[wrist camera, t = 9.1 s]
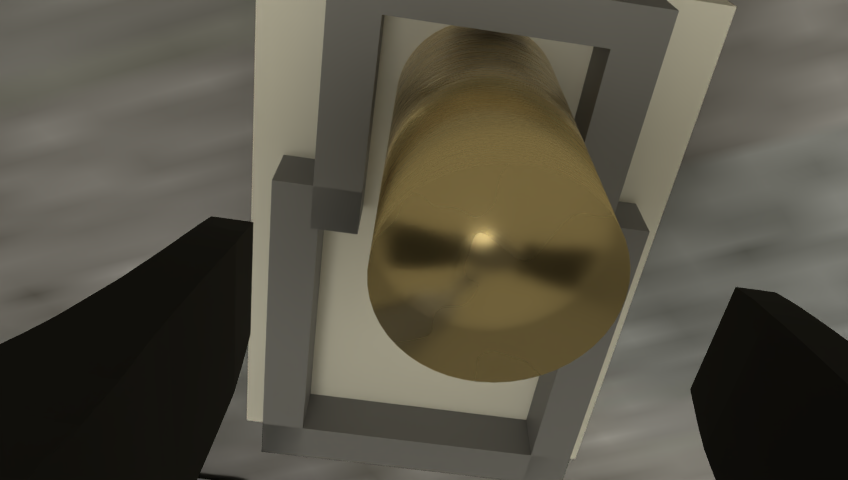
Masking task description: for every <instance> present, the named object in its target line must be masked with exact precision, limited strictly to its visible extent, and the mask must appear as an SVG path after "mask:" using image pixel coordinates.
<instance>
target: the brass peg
mask: <svg viewBox="0 0 848 480" xmlns="http://www.w3.org/2000/svg"><path fill="white" fill-rule="evenodd" d="M630 269H631V267H630V257H629V251H628V247H627V243H626V239H625V237H624V235H623V232H622V230H621V228H620V225H619V223H618V221H617V218H616V216H615V214H614V211H613V209H612V207H611V204H610V202H609V199H608V197H607V195H606V192H605V190H604V188H603V185H602V183H601V181H600V178H599V176H598V174H597V171H596V169H595V167H594V164H593V162H592V160H591V157H590V155H589V153H588V150H587V148H586V146H585V143H584V141H583V139H582V136H581V134H580V132H579V129H578V127H577V125H576V122H575V120H574V118H573V115H572V113H571V111H570V108H569V106H568V103H567V101H566V99H565V96H564V94H563V92H562V89H561V87H560V85H559V82H558V80H557V78H556V75H555V73H554V71H553V68H552V66H551V64H550V62H549V60H548V58H547V57H546V55H545V53H544V52H543V51H542V50H541V48H540V47H539V46H538V45H537V44H536V43H535V42H534V41H533V40H532V39H531V38H530V37H527V36H520V35H514V34H507V33H500V32H494V31H487V30H480V29H474V28H467V27H461V26H454V25H450V26H447V27H445V28H443V29H441V30H439V31H437V32H435V33H434V34H432V35H431V36H429V37H428V38H427V39H425V40H424V41H423V42H422V43H421V44H420V45H419V46H418V47H417V48H416V49H415V50H414V52H413V53H412V54H411V55H410V57H409V58H408V60H407V62H406V63H405V65H404V67H403V70H402V72H401V74H400V78H399V81H398V85H397V91H396V98H395V104H394V110H393V116H392V122H391V128H390V134H389V140H388V146H387V152H386V159H385V165H384V171H383V177H382V183H381V189H380V195H379V201H378V207H377V213H376V220H375V226H374V232H373V238H372V244H371V250H370V256H369V262H368V269H367V286H368V292H369V299H370V302H371V305H372V308H373V311H374V313H375V315H376V317H377V319H378V321H379V323H380V325H381V327H382V328H383V329H384V331H385V332H386V334H387V335H388V336H389V338H390V339H391V340H392V341H393V342H394V343H395V344H396V345H397V346H398V347H399V348H400V349H401V350H402V351H404V352H405V353H406V354H407V355H408V356H410V357H411V358H413V359H414V360H416V361H417V362H419V363H420V364H422V365H424V366H426V367H428V368H430V369H432V370H434V371H437V372H439V373H442V374H445V375H447V376H451V377H455V378H459V379H463V380H469V381H476V382H491V383H497V382H512V381H519V380H525V379H529V378H533V377H537V376H541V375H544V374H546V373H549V372H552V371H555V370H557V369H559V368H561V367H563V366H565V365H567V364H569V363H571V362H572V361H574V360H575V359H577V358H579V357H580V356H582V355H583V354H584V353H586V352H587V351H588V350H589V349H591V348H592V347H593V346H594V345H595V344H596V343H597V342H598V341H599V340H600V339H601V338H602V337H603V336H604V335H605V334H606V333H607V331H608V330H609V329H610V327H611V326H612V325H613V323H614V322H615V320H616V318H617V316H618V315H619V313H620V311H621V309H622V307H623V304H624V301H625V299H626V296H627V292H628V287H629V283H630Z"/></svg>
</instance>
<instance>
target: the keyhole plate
mask: <svg viewBox="0 0 848 480" xmlns="http://www.w3.org/2000/svg"><path fill="white" fill-rule="evenodd" d="M736 8H737V7H736V6H735V5H733V4H732V3H730V2H729V1H727V0H256V24H255V69H254V115H253V160H252V206H251V222H253V259H252V297H251V334H250V338H249V343H248V388H247V420H249V421H258V422H263V428H262V452H269V453H278V454H286V455H295V456H303V457H312V458H321V459H329V460H338V461H346V462H355V463H363V464H372V465H380V466H389V467H398V468H406V469H415V470H423V471H432V472H440V473H449V474H458V475H466V476H475V477H483V478H492V479H500V480H563V477H564V474H565V471H566V468H567V466H568V463H569V460H570V459H575V458H576V456H577V453H578V450H579V447H580V444H581V442H582V439H583V436H584V433H585V430H586V428H587V425H588V422H589V419H590V416H591V414H592V411H593V408H594V405H595V402H596V400H597V397H598V394H599V391H600V388H601V386H602V383H603V380H604V377H605V374H606V372H607V369H608V366H609V363H610V360H611V358H612V355H613V352H614V349H615V346H616V344H617V341H618V338H619V335H620V332H621V330H622V327H623V324H624V321H625V318H626V316H627V313H628V310H629V307H630V304H631V302H632V299H633V296H634V293H635V290H636V288H637V285H638V282H639V279H640V276H641V274H642V271H643V268H644V265H645V262H646V260H647V257H648V254H649V251H650V248H651V246H652V243H653V240H654V237H655V234H656V232H657V229H658V226H659V223H660V220H661V218H662V215H663V212H664V209H665V206H666V204H667V201H668V198H669V195H670V192H671V190H672V187H673V184H674V181H675V178H676V176H677V173H678V170H679V167H680V164H681V162H682V159H683V156H684V153H685V150H686V148H687V145H688V142H689V139H690V136H691V134H692V131H693V128H694V125H695V122H696V120H697V117H698V114H699V111H700V108H701V106H702V103H703V100H704V97H705V94H706V92H707V89H708V86H709V83H710V80H711V78H712V75H713V72H714V69H715V66H716V64H717V61H718V58H719V55H720V52H721V50H722V47H723V44H724V41H725V38H726V36H727V33H728V30H729V27H730V24H731V22H732V19H733V16H734V13H735V10H736ZM450 25H454V26H461V27H467V28H474V29H480V30H487V31H494V32H500V33H507V34H514V35H520V36H527V37H530V38H531V39H532V40H533V41H534V42H535V43H536V44H537V45H538V46H539V47H540V48H541V50H542V51H543V52H544V53H545V55H546V57H547V58H548V60H549V62H550V64H551V66H552V68H553V71H554V73H555V75H556V78H557V80H558V82H559V85H560V87H561V89H562V92H563V94H564V96H565V99H566V101H567V103H568V106H569V108H570V111H571V113H572V115H573V118H574V120H575V122H576V125H577V127H578V129H579V132H580V134H581V136H582V139H583V141H584V143H585V146H586V148H587V150H588V153H589V155H590V157H591V160H592V162H593V164H594V167H595V169H596V171H597V174H598V176H599V178H600V181H601V183H602V185H603V188H604V190H605V192H606V195H607V197H608V199H609V202H610V204H611V207H612V209H613V211H614V214H615V216H616V218H617V221H618V223H619V225H620V228H621V230H622V232H623V235H624V237H625V239H626V243H627V247H628V251H629V257H630V267H631V269H630V283H629V287H628V292H627V296H626V299H625V301H624V304H623V307H622V309H621V311H620V313H619V315H618V316H617V318H616V320H615V322H614V323H613V325H612V326H611V327H610V329H609V330H608V331H607V333H606V334H605V335H604V336H603V337H602V338H601V339H600V340H599V341H598V342H597V343H596V344H595V345H594V346H593V347H592V348H591V349H589V350H588V351H587V352H586V353H584V354H583V355H582V356H580V357H579V358H577V359H575V360H574V361H572V362H571V363H569V364H567V365H565V366H563V367H561V368H559V369H557V370H555V371H552V372H549V373H546V374H544V375H541V376H537V377H533V378H529V379H525V380H519V381H512V382H497V383H491V382H476V381H469V380H463V379H459V378H455V377H451V376H447V375H445V374H442V373H439V372H437V371H434V370H432V369H430V368H428V367H426V366H424V365H422V364H420V363H419V362H417V361H416V360H414V359H413V358H411V357H410V356H408V355H407V354H406V353H405V352H404V351H402V350H401V349H400V348H399V347H398V346H397V345H396V344H395V343H394V342H393V341H392V340H391V339H390V338H389V336H388V335H387V334H386V332H385V331H384V329H383V328H382V327H381V325H380V323H379V321H378V319H377V317H376V315H375V313H374V311H373V308H372V305H371V302H370V299H369V292H368V286H367V269H368V262H369V256H370V250H371V244H372V238H373V232H374V226H375V220H376V213H377V207H378V201H379V195H380V189H381V183H382V177H383V171H384V165H385V159H386V152H387V146H388V140H389V134H390V128H391V122H392V116H393V110H394V104H395V98H396V91H397V85H398V81H399V78H400V74H401V72H402V70H403V67H404V65H405V63H406V62H407V60H408V58H409V57H410V55H411V54H412V53H413V52H414V50H415V49H416V48H417V47H418V46H419V45H420V44H421V43H422V42H423V41H424V40H425V39H427V38H428V37H429V36H431V35H432V34H434V33H435V32H437V31H439V30H441V29H443V28H445V27H447V26H450Z"/></svg>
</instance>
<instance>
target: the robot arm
mask: <svg viewBox="0 0 848 480" xmlns="http://www.w3.org/2000/svg"><path fill="white" fill-rule="evenodd" d="M252 259H253V222H248V221H241V220H233V219H226V218H219V217H210V218H208V219H207V220H205V221H203V222H202V223H200V224H199V225H197V226H196V227H195V228H193V229H192V230H190V231H189V232H187V233H186V234H185V235H183V236H182V237H180V238H179V239H177V240H176V241H175V242H173V243H172V244H170V245H169V246H167V247H166V248H164V249H163V250H162V251H160V252H159V253H157V254H156V255H154V256H153V257H151V258H150V259H148V260H147V261H145V262H144V263H142V264H141V265H139V266H138V267H136V268H135V269H133V270H132V271H130V272H129V273H127V274H126V275H124V276H123V277H121V278H120V279H118V280H116V281H115V282H113V283H111V284H110V285H108V286H106V287H105V288H103V289H101V290H99V291H98V292H96V293H94V294H93V295H91V296H89V297H88V298H86V299H84V300H83V301H81V302H79V303H77V304H76V305H74V306H72V307H71V308H69V309H67V310H66V311H64V312H62V313H61V314H59V315H57V316H55V317H53V318H51V319H50V320H48V321H46V322H44V323H42V324H40V325H38V326H36V327H34V328H32V329H30V330H28V331H26V332H24V333H22V334H20V335H18V336H16V337H14V338H12V339H10V340H8V341H6V342H3V343H1V344H0V480H209V479H201V478H198V476H199V474H200V472H201V469H202V467H203V465H204V462H205V460H206V458H207V455H208V453H209V451H210V448H211V446H212V444H213V441H214V439H215V437H216V434H217V432H218V430H219V427H220V425H221V423H222V420H223V418H224V415H225V413H226V411H227V408H228V406H229V404H230V401H231V399H232V396H233V394H234V391H235V388H236V384H237V381H238V377H239V374H240V371H241V367H242V364H243V360H244V356H245V352H246V349H247V345H248V341H249V338H250V334H251V297H252ZM690 390H691V395H692V399H693V404H694V409H695V414H696V418H697V423H698V427H699V431H700V435H701V439H702V443H703V447H704V450H705V453H706V455H707V458H708V461H709V464H710V466H711V469H712V471H713V474H714V477H715V479H716V480H848V341H847V340H846V339H844V338H843V337H842V336H840V335H839V334H838V333H836V332H835V331H833V330H832V329H831V328H829V327H828V326H826V325H825V324H824V323H822V322H821V321H819V320H818V319H816V318H815V317H814V316H812V315H811V314H809V313H808V312H806V311H805V310H803V309H802V308H800V307H799V306H797V305H796V304H794V303H793V302H791V301H789V300H788V299H786V298H784V297H782V296H781V295H779V294H777V293H775V292H768V291H761V290H754V289H746V288H739V287H736V288H735V290H734V292H733V294H732V297H731V299H730V301H729V303H728V306H727V308H726V310H725V312H724V315H723V317H722V319H721V321H720V324H719V326H718V328H717V330H716V333H715V335H714V337H713V339H712V342H711V344H710V346H709V348H708V351H707V353H706V355H705V357H704V360H703V362H702V364H701V367H700V369H699V371H698V373H697V376H696V378H695V380H694V382H693V385H692V387H691V389H690Z"/></svg>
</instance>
